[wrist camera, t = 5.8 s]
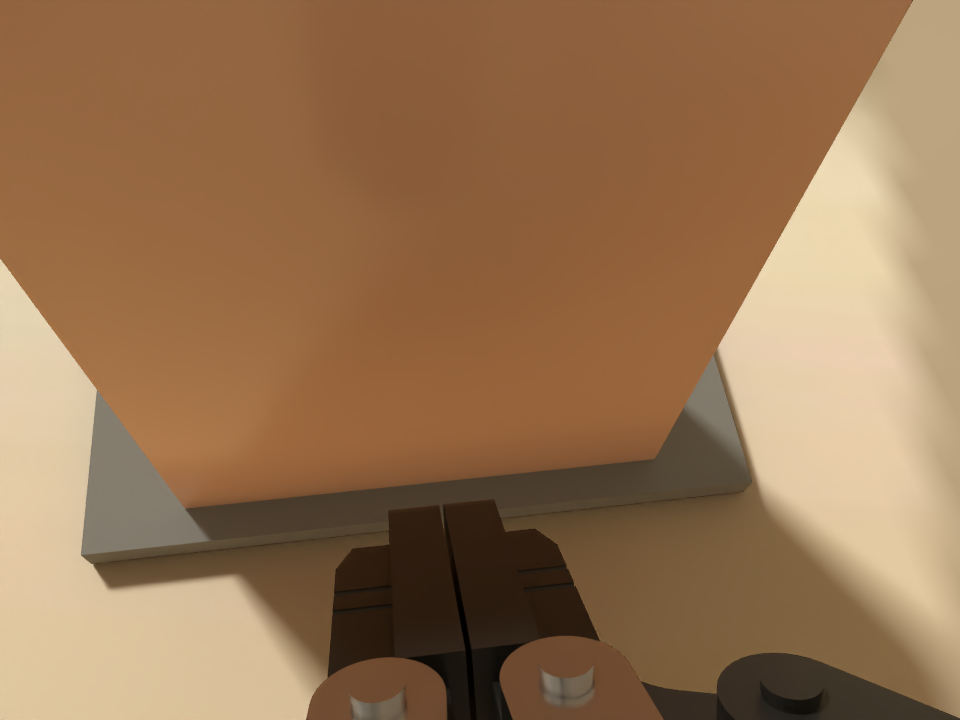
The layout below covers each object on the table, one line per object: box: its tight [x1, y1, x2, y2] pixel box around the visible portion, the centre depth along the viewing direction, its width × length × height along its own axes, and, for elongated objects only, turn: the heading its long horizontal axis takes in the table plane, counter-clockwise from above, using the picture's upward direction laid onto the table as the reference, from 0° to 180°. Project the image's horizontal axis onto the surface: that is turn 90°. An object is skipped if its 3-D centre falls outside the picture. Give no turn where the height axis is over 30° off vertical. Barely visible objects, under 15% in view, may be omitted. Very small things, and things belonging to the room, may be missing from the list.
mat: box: [81, 355, 752, 564], centre depth 23 cm, size 14×19×1 cm
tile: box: [0, 0, 913, 509], centre depth 13 cm, size 10×3×14 cm, turn 97°
